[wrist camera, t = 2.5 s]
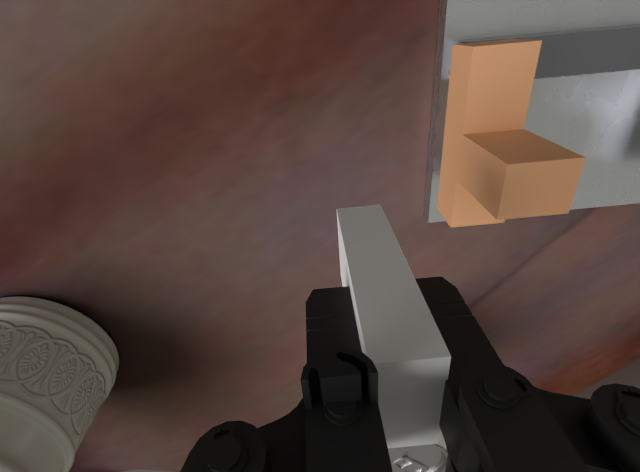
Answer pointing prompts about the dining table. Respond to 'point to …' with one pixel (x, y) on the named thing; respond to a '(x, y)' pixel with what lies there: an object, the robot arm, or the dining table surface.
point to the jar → (49, 382)
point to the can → (419, 457)
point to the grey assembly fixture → (558, 86)
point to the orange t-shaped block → (499, 140)
